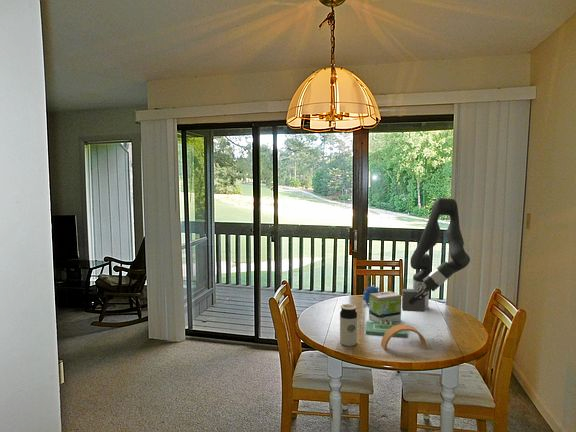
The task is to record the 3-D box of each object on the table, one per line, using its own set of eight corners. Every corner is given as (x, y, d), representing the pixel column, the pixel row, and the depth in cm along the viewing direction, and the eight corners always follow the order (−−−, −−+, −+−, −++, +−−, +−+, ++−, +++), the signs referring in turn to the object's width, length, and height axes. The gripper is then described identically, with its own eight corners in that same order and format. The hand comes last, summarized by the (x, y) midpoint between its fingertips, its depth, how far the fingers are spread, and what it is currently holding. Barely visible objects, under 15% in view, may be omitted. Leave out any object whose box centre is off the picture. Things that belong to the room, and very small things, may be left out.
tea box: (379, 324, 206) (379, 298, 205) (368, 319, 215) (368, 293, 214) (401, 320, 212) (401, 294, 211) (389, 315, 221) (390, 290, 220)
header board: (366, 324, 207) (366, 316, 207) (404, 326, 203) (404, 318, 202) (365, 333, 193) (365, 325, 193) (406, 337, 189) (407, 328, 189)
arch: (380, 345, 180) (381, 324, 179) (422, 344, 181) (423, 323, 180) (384, 350, 174) (384, 329, 174) (427, 349, 175) (427, 328, 174)
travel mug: (339, 339, 187) (339, 303, 185) (355, 339, 186) (355, 303, 185) (340, 346, 179) (341, 308, 177) (357, 346, 178) (358, 309, 177)
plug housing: (401, 307, 198) (402, 288, 197) (423, 308, 195) (423, 289, 195) (402, 310, 193) (403, 291, 192) (424, 312, 191) (425, 292, 190)
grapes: (376, 300, 248) (376, 282, 247) (381, 304, 242) (381, 285, 241) (359, 302, 245) (360, 284, 244) (364, 305, 239) (364, 286, 238)
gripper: (427, 271, 198) (402, 292, 201) (431, 277, 184) (405, 300, 187) (437, 281, 197) (412, 302, 201) (443, 289, 183) (416, 311, 187)
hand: (409, 301), depth 194 cm, fingers closed on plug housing, 5 cm apart
